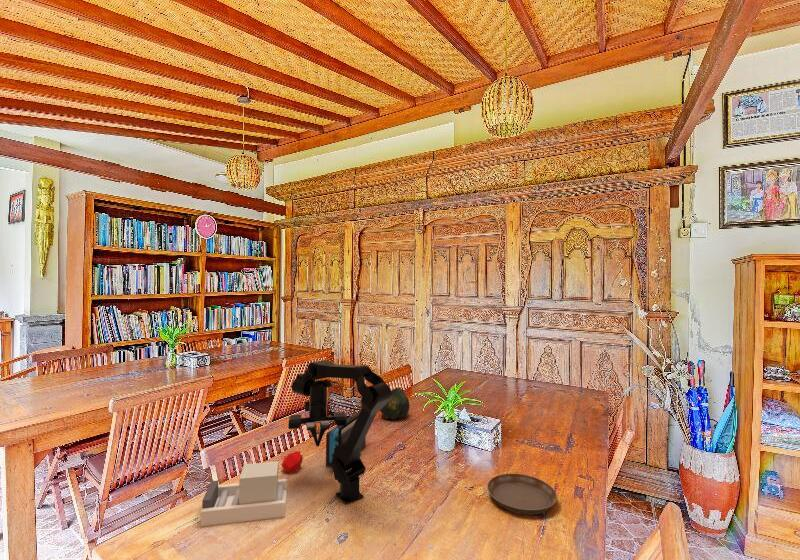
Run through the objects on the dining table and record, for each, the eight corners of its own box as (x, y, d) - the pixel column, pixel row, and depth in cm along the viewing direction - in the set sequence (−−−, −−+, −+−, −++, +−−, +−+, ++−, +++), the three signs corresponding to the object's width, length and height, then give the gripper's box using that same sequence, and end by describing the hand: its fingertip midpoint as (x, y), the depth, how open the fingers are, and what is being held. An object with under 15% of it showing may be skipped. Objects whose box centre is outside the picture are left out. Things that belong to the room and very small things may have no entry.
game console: (335, 474, 140) (336, 432, 140) (319, 471, 142) (320, 429, 142) (369, 444, 166) (370, 408, 166) (355, 441, 169) (356, 406, 168)
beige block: (278, 487, 125) (278, 461, 125) (276, 503, 116) (276, 475, 116) (243, 490, 123) (244, 464, 123) (239, 507, 114) (239, 478, 114)
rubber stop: (218, 496, 123) (218, 480, 122) (209, 517, 112) (210, 499, 112) (210, 497, 122) (211, 481, 122) (202, 518, 112) (202, 500, 112)
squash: (369, 408, 195) (390, 386, 192) (380, 400, 209) (400, 380, 206) (389, 431, 191) (411, 409, 188) (399, 421, 205) (419, 401, 202)
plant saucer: (551, 528, 112) (551, 516, 112) (478, 507, 122) (478, 496, 122) (561, 493, 130) (561, 483, 130) (497, 477, 140) (497, 468, 140)
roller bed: (286, 491, 129) (287, 478, 129) (284, 516, 115) (285, 502, 115) (211, 498, 124) (212, 485, 124) (200, 526, 110) (200, 511, 110)
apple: (286, 462, 137) (303, 446, 144) (274, 460, 141) (291, 444, 148) (294, 478, 139) (310, 462, 145) (282, 476, 143) (298, 460, 149)
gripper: (344, 390, 145) (343, 434, 145) (290, 393, 140) (289, 438, 140) (347, 400, 134) (346, 447, 134) (288, 403, 129) (288, 452, 130)
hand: (317, 445), depth 135 cm, fingers closed
